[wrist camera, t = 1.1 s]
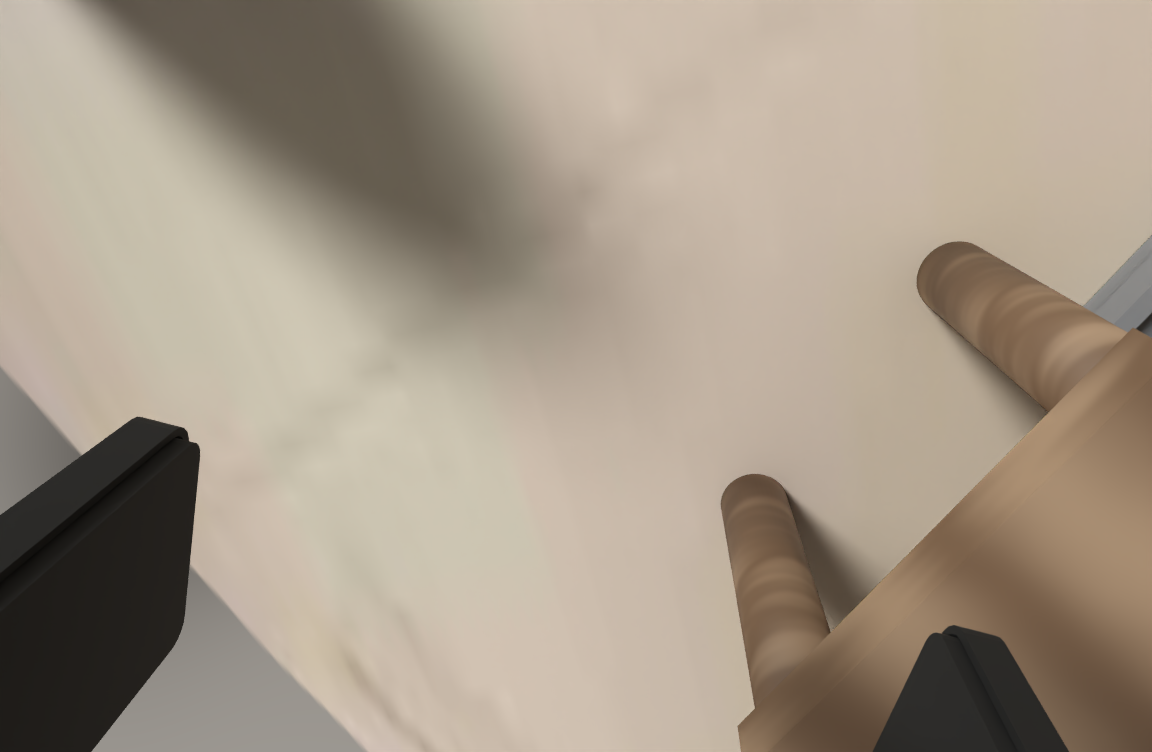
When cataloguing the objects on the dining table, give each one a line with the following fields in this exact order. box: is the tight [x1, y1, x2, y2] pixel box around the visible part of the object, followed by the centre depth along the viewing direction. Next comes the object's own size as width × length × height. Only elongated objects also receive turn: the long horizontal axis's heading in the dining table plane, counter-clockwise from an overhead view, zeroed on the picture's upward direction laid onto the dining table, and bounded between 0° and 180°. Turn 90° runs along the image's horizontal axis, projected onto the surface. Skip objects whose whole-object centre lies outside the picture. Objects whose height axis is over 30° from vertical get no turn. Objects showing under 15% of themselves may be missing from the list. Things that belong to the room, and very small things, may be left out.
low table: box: [721, 242, 1152, 752], centre depth 32 cm, size 16×26×16 cm, turn 55°
